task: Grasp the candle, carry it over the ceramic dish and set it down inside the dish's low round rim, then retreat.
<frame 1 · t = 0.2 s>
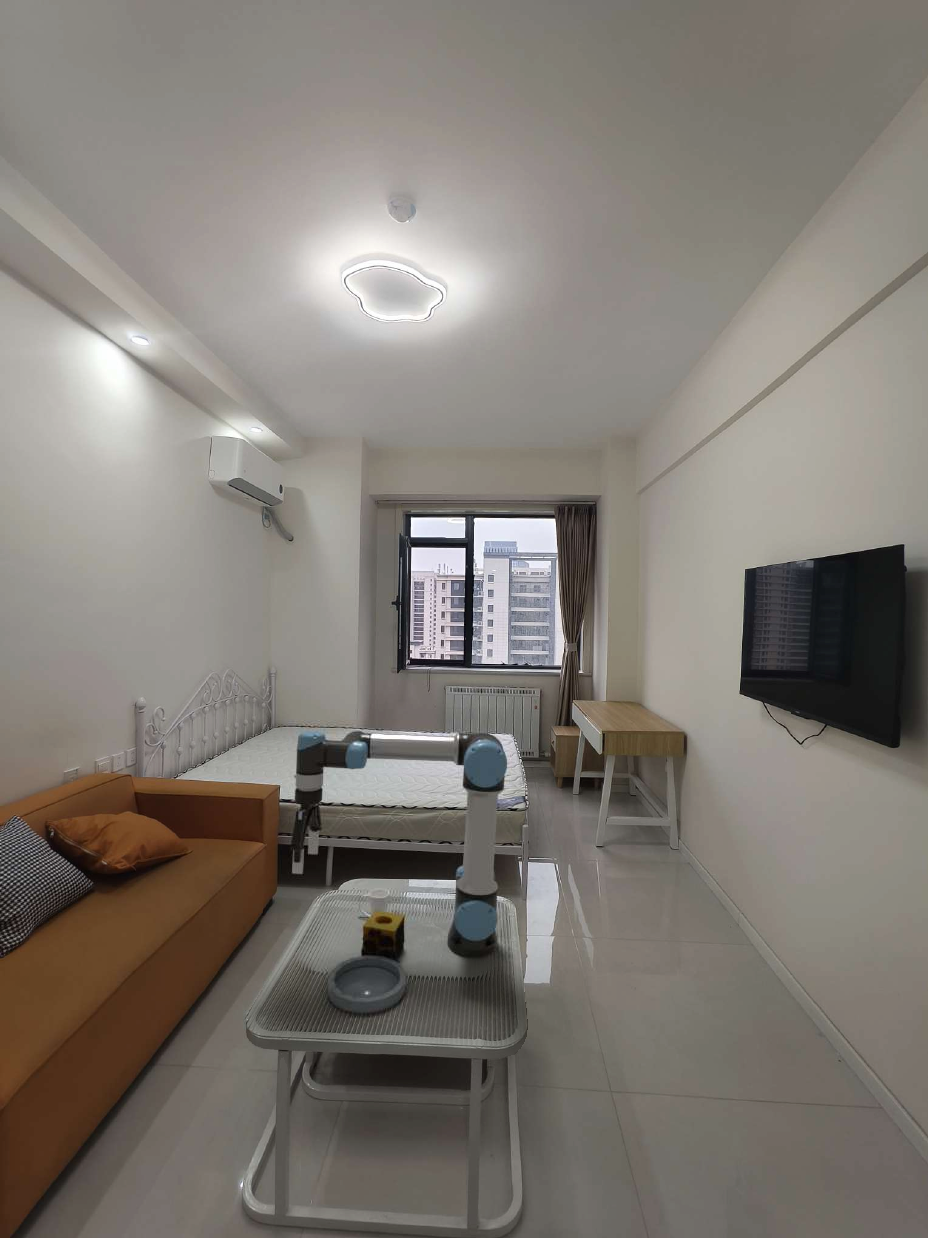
hand: (305, 863, 165), 27 cm above the table, fingers open, 13 cm apart
cup: (373, 918, 191), on the table
dish: (366, 988, 154), on the table
candle: (382, 955, 170), on the table
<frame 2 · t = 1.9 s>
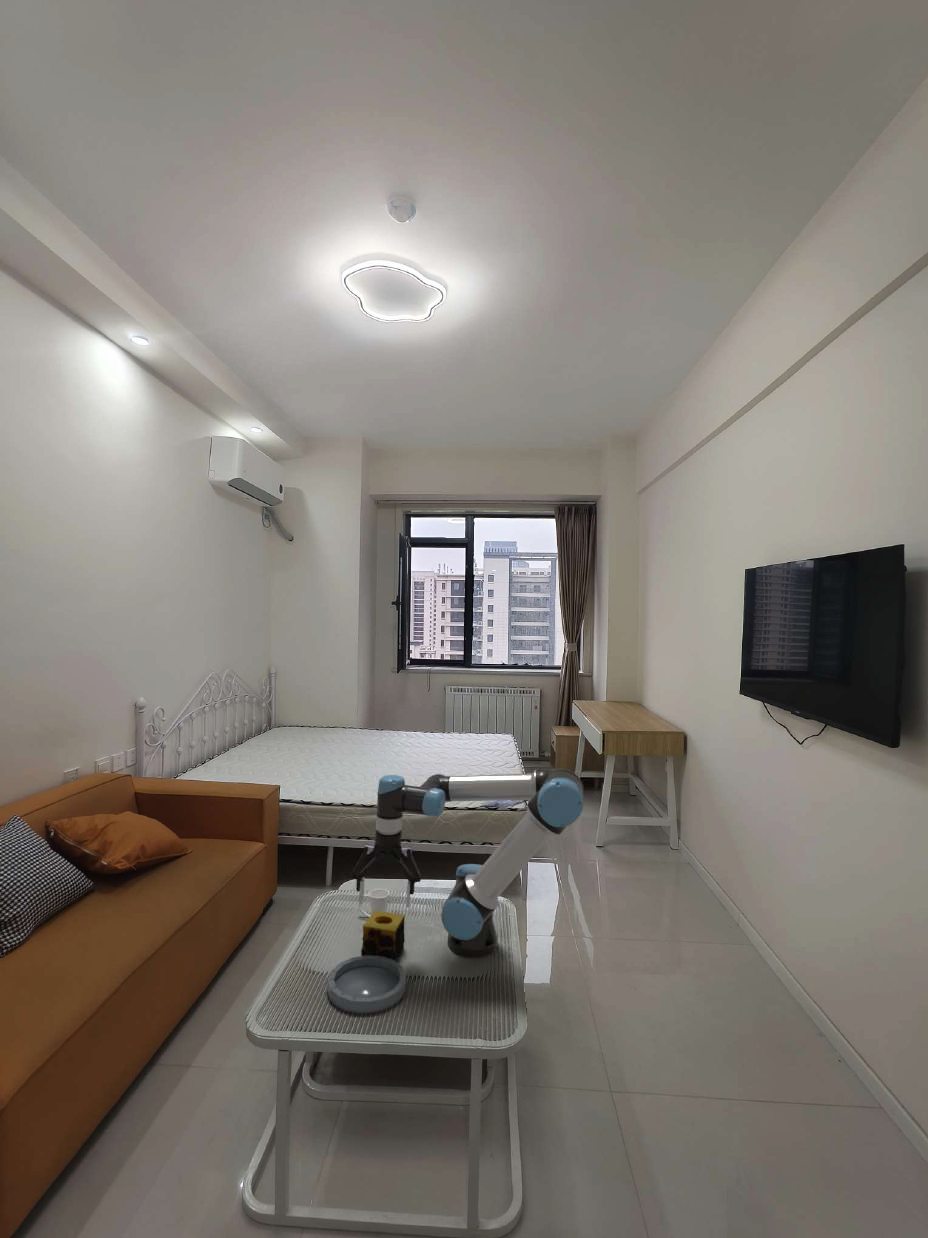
hand: (384, 903, 170), 15 cm above the table, fingers open, 13 cm apart
nothing on the table moved.
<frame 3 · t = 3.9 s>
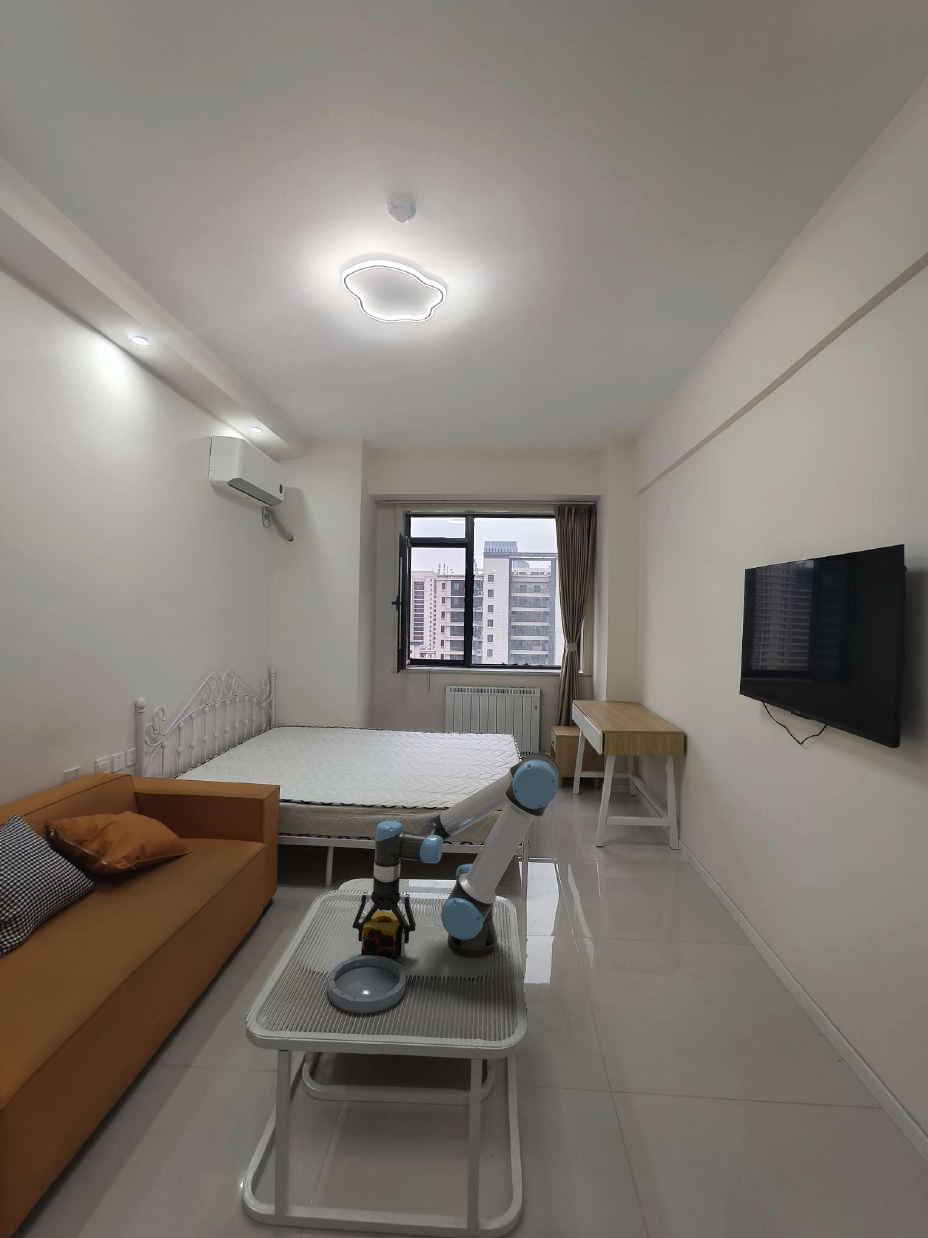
hand: (383, 953, 170), 0 cm above the table, fingers closed on candle, 11 cm apart
candle: (383, 955, 170), on the table, touching gripper
everything else where it was.
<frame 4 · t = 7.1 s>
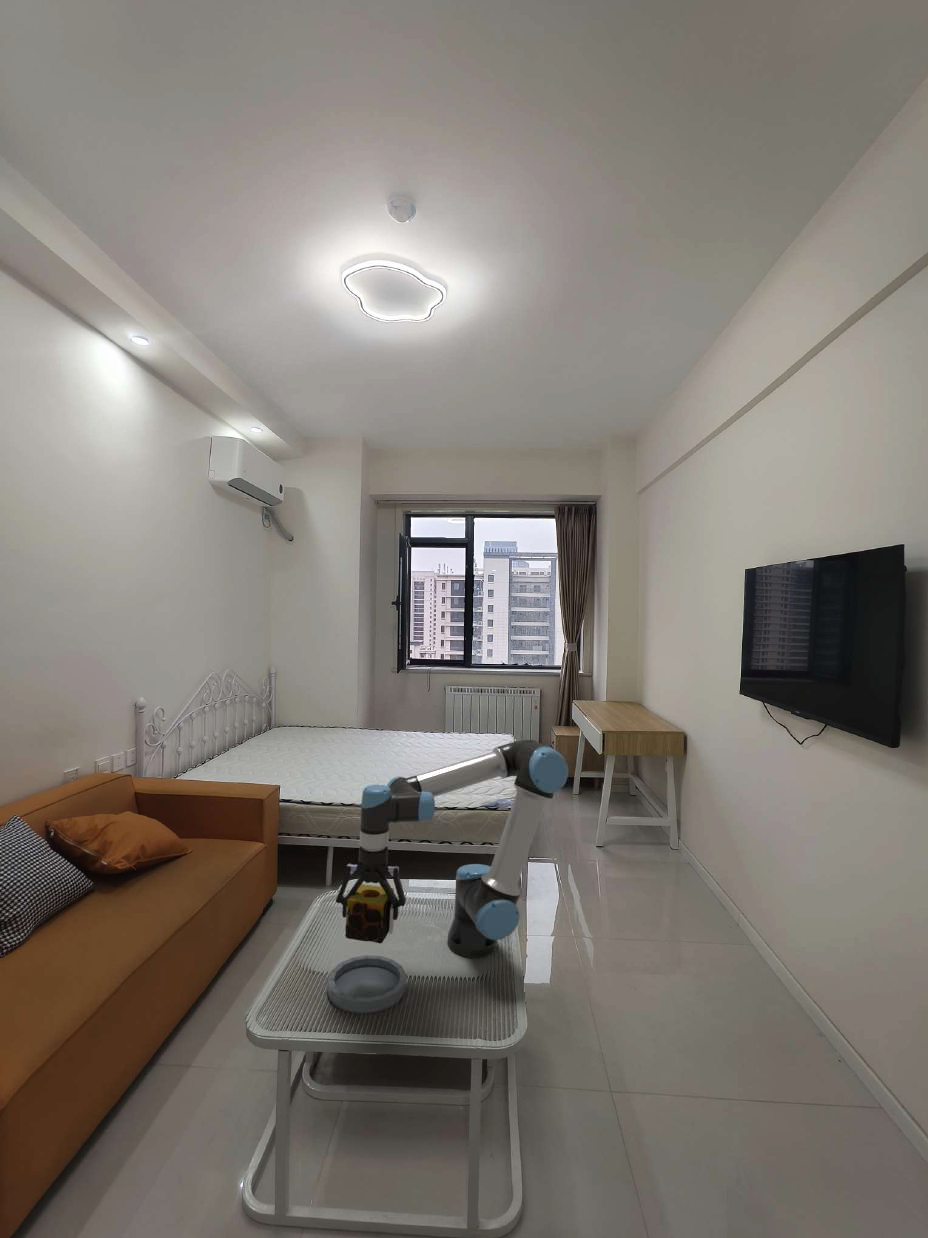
hand: (369, 930, 154), 15 cm above the table, fingers closed on candle, 11 cm apart
candle: (369, 932, 154), point 15 cm above the table, touching gripper
everything else where it was.
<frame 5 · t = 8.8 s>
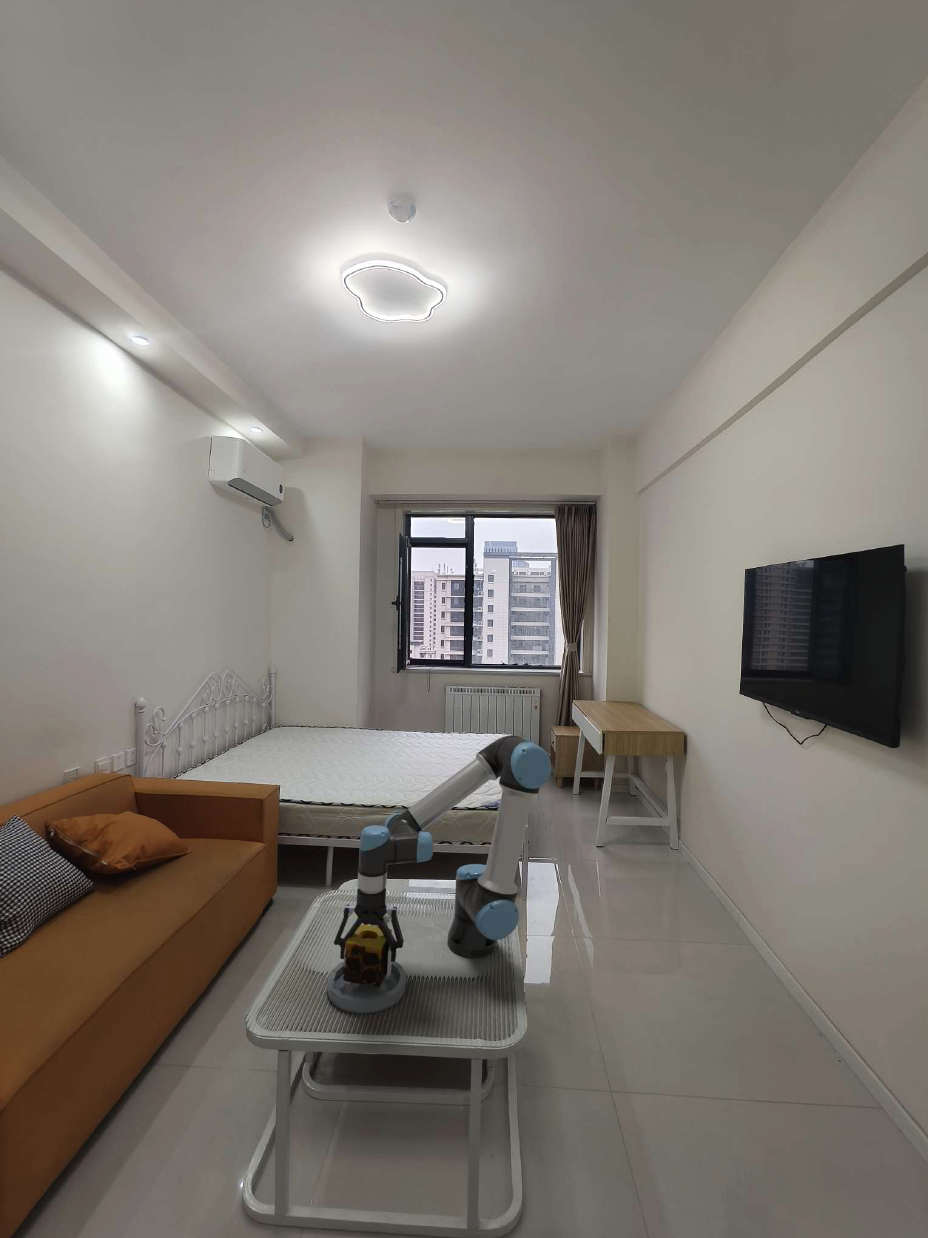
hand: (367, 972, 154), 4 cm above the table, fingers closed on candle, 11 cm apart
candle: (367, 974, 154), point 4 cm above the table, touching gripper
everything else where it was.
when the fingers open (3 cm above the table, at t = 10.1 s): candle drops 2 cm, resting on dish.
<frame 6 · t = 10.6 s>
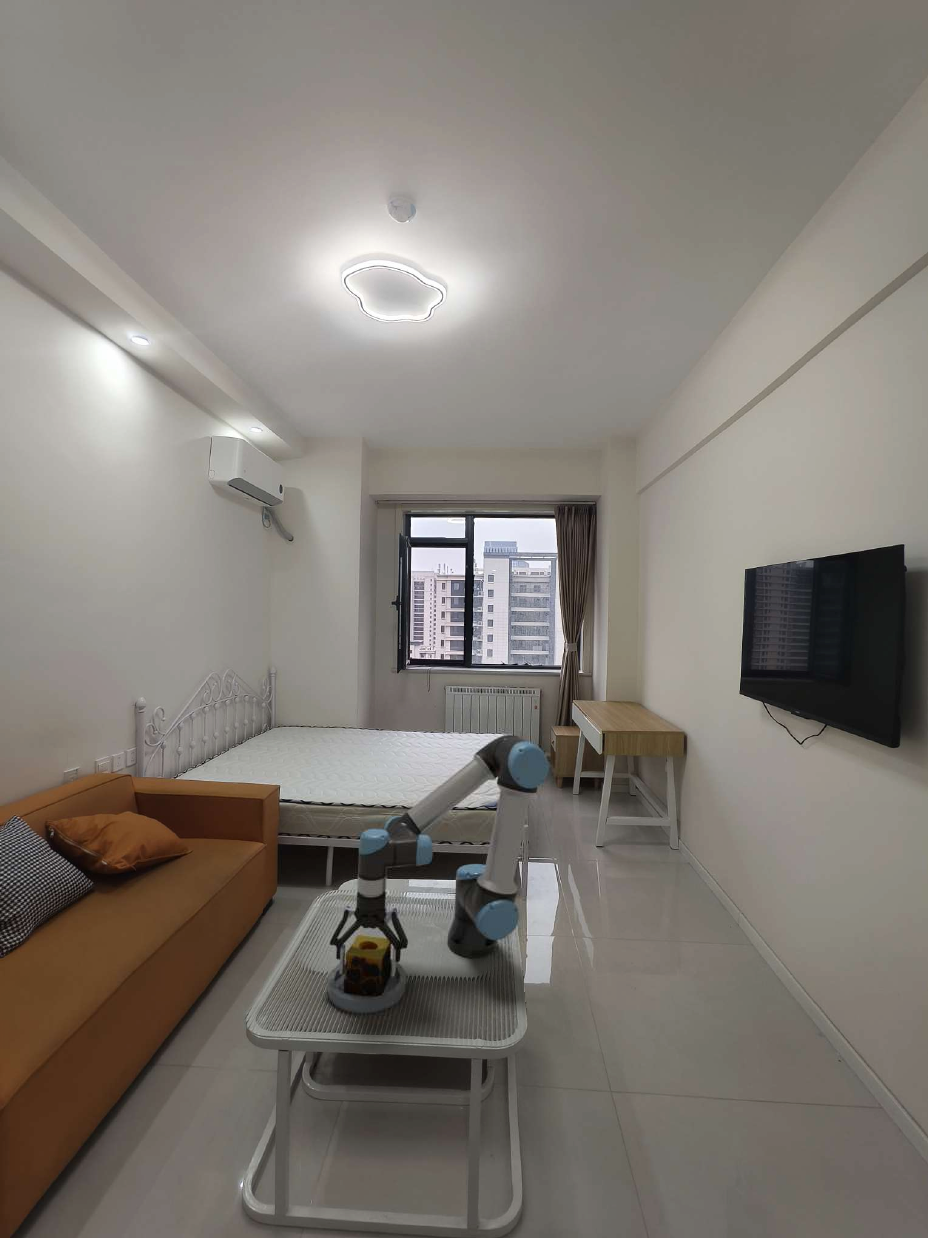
hand: (367, 972, 154), 4 cm above the table, fingers open, 13 cm apart
candle: (367, 985, 154), point 1 cm above the table, touching dish
everything else where it was.
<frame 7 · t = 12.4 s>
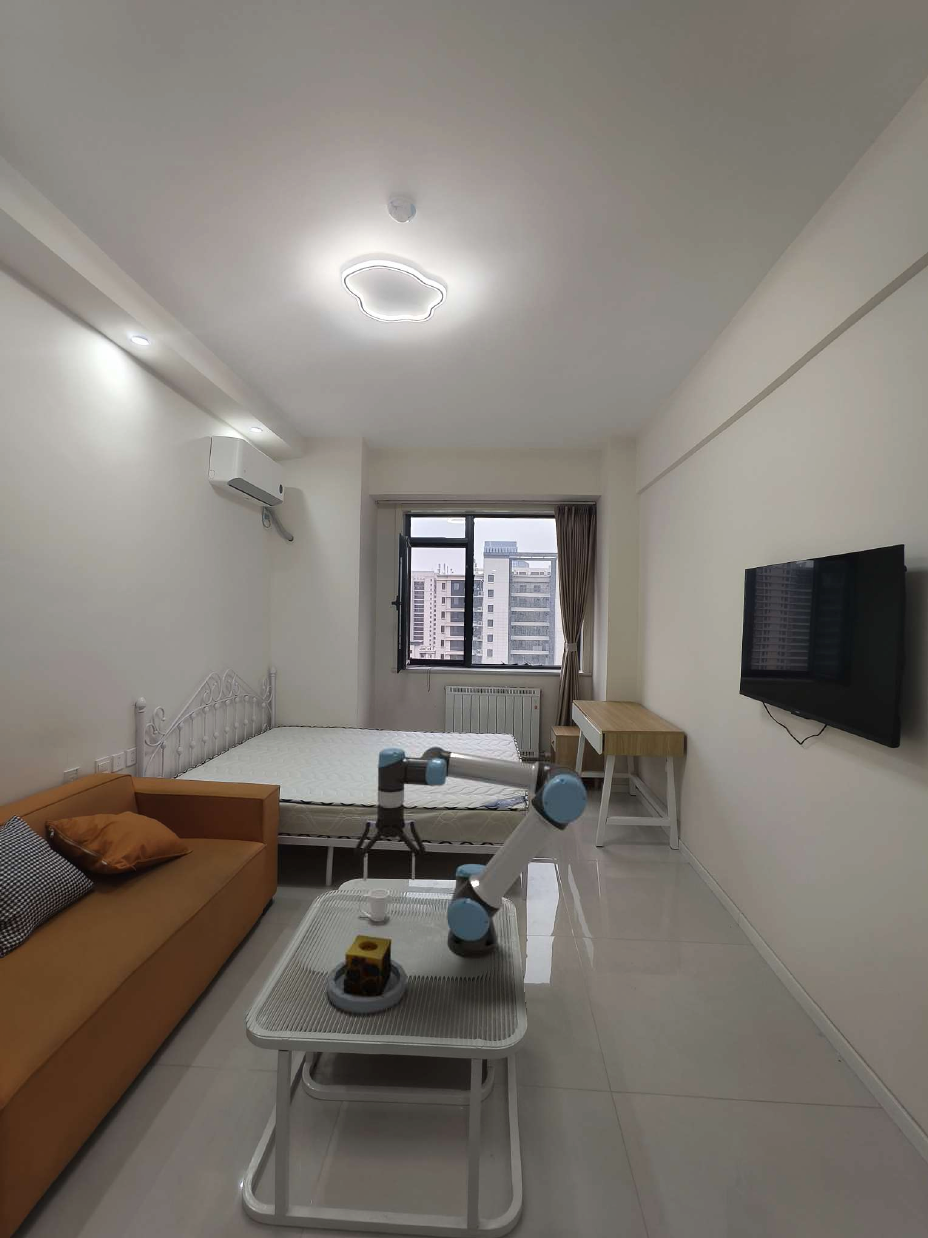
hand: (389, 878, 168), 23 cm above the table, fingers open, 13 cm apart
nothing on the table moved.
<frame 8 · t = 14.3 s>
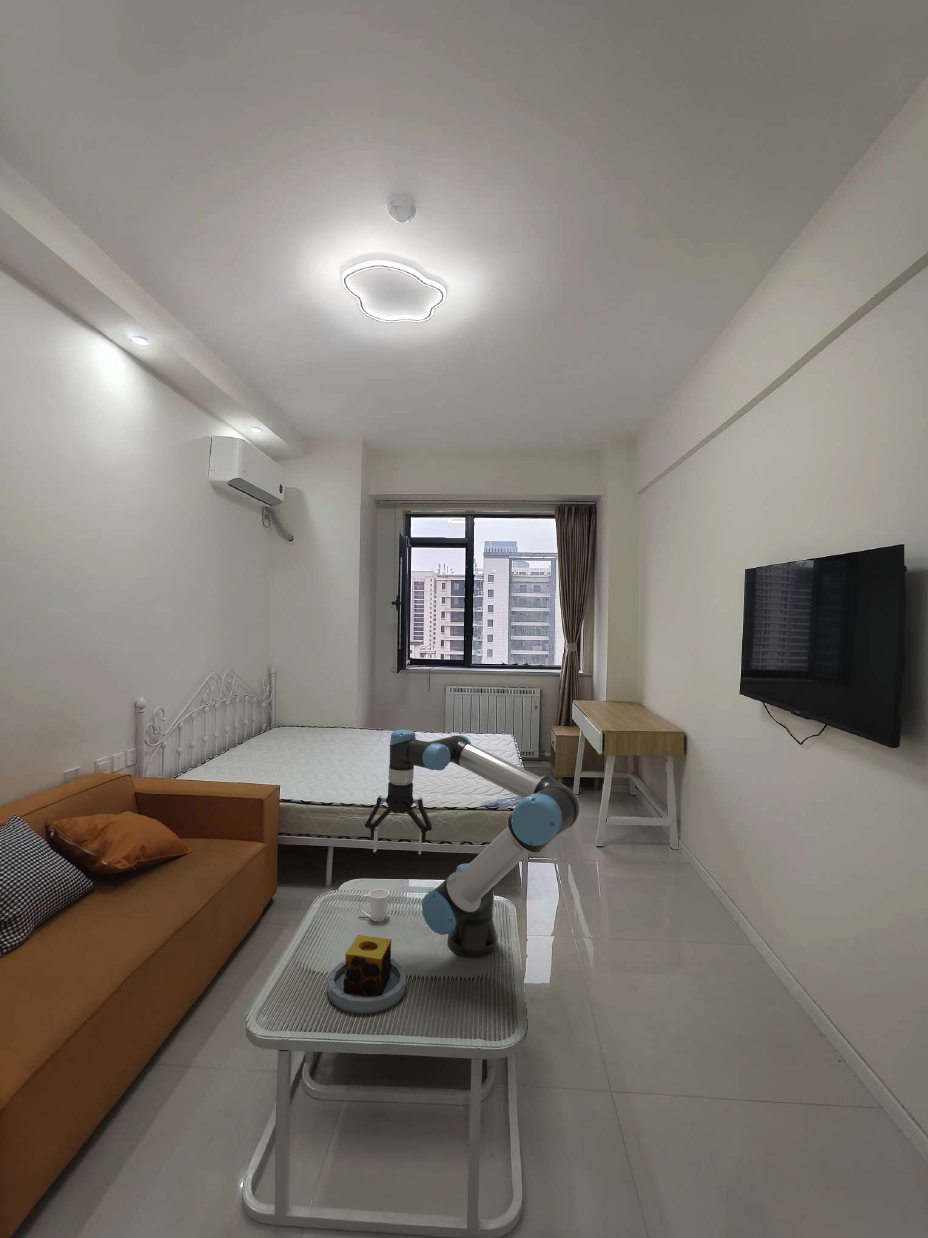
hand: (397, 852, 178), 27 cm above the table, fingers open, 13 cm apart
nothing on the table moved.
at the end: candle inside the target area on the dish (0.1 cm from its centre), point 0.8 cm above the dish's base; candle tilted 0°; the gripper is holding nothing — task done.
